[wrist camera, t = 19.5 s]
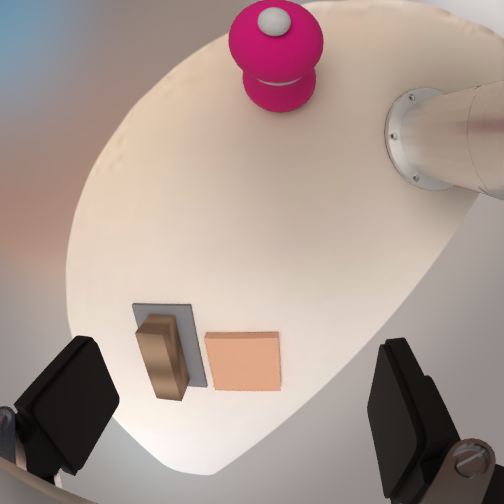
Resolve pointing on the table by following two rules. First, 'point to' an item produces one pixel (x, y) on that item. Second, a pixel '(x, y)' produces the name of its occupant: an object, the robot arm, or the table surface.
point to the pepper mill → (277, 53)
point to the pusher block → (163, 356)
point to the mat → (185, 332)
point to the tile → (244, 361)
